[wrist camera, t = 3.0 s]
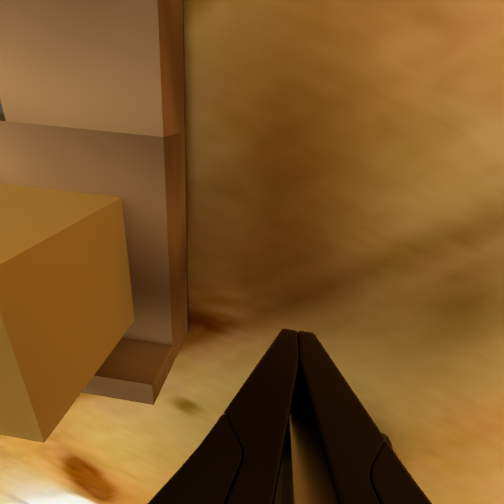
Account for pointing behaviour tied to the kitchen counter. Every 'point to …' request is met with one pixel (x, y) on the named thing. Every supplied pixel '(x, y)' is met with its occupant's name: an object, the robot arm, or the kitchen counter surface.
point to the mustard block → (57, 301)
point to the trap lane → (108, 150)
